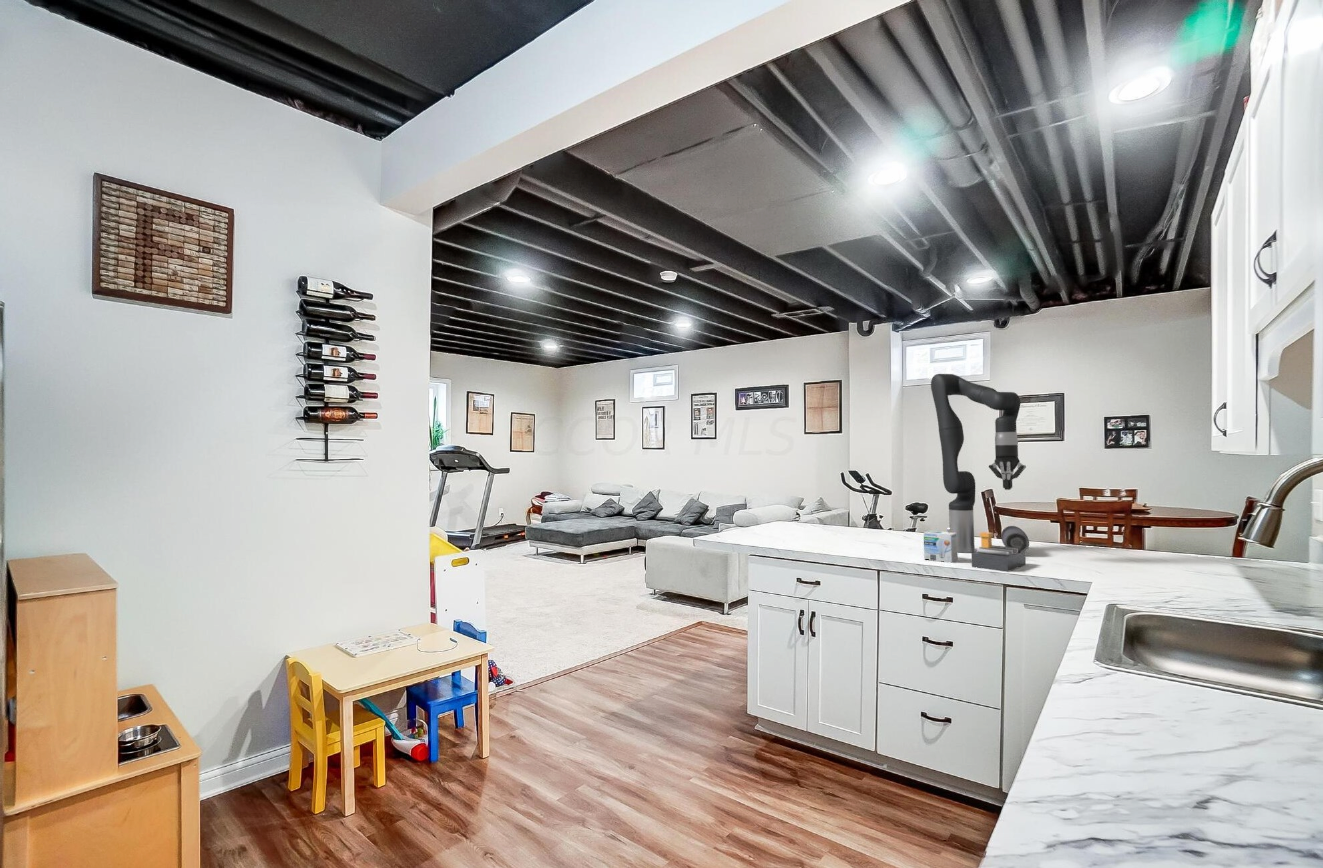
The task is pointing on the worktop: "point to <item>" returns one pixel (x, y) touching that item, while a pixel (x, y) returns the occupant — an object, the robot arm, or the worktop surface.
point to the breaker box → (999, 559)
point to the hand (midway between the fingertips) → (1007, 489)
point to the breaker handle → (986, 539)
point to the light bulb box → (940, 546)
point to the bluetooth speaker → (1015, 538)
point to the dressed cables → (996, 551)
